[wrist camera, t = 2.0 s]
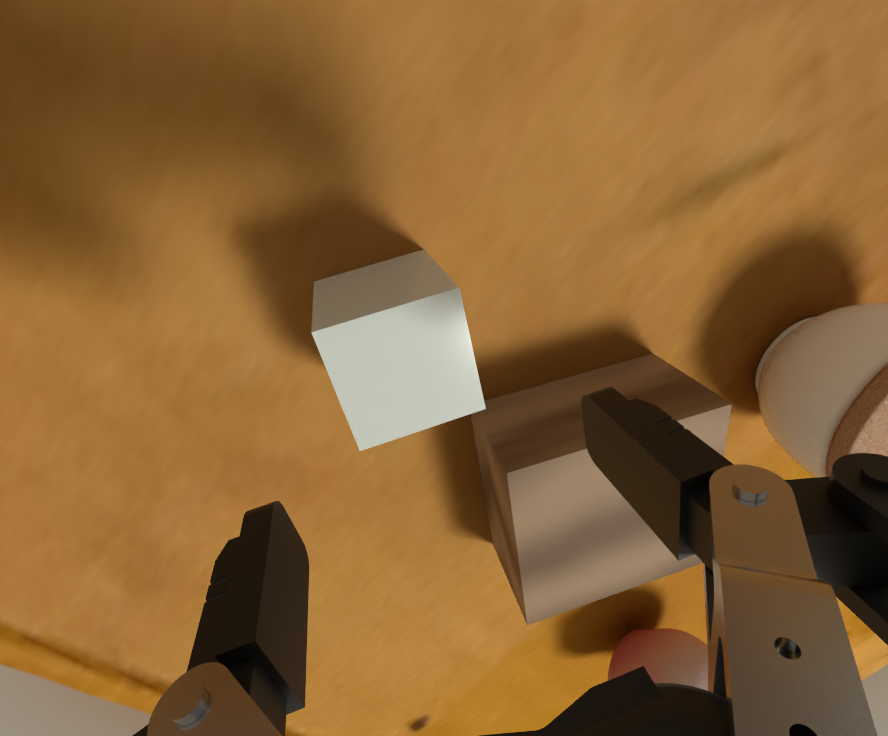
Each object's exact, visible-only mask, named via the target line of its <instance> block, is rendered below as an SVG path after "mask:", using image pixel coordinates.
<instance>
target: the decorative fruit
mask: <svg viewBox="0 0 888 736" xmlns="http://www.w3.org/2000/svg"><path fill="white" fill-rule="evenodd" d="M642 666H644V667H645V669H646V670H647V672H648V674H649V675H650V677H651V679H652V680H653V682H654V683H677V684H683V685H688V686H694V687H697V688H701V689H704V690H707V691H708V645H706V644H705V643H704V642H702V641H701V640H699V639H698V638H696V637H695V636H693V635H691V634H689V633H687V632H684V631H681V630H676V629H644V630H635V629H632V630H631V631H629V632H628V633H627V634H626V635H625V636H624V637H623V638H622V640H621V641H620V642H619V644H618V645H617V647H616V649H615V651H614V653H613V655H612V658H611V662H610V666H609V672H608V681H609V680H611V679H613V678H616V677H618V676H621V675H623V674H625V673H628V672H630V671H632V670H635V669H637V668H640V667H642Z"/></svg>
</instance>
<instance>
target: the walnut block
mask: <svg viewBox="0 0 888 736" xmlns="http://www.w3.org/2000/svg"><path fill="white" fill-rule="evenodd" d="M607 387H612V388H614V389H615V390H617V391H618V392H619V393H620V394H622V395H623V396H624V397H625V398H626V399H628V400H632V399H635V398H638V399H640V400H643V401H646V402H649V403H651V404H654V405H657V406H658V407H659V408H661V409H662V410H663V411H664V412H666V413H667V414H668V415H670V416H671V417H672V419H673V420H674V419H675V420H676V421H677V422H679V423H680V424H681V425H683V426H684V428H685V429H688V430H689V431H691V432H692V433H693V434H694V435H696V436H697V437H698V438H700V439H701V440H702V441H704V442H705V443H706V444H707V445H709V446H710V447H711V448H713V449H714V450H715V451H717V452H718V453H719V454H720V455H722V456H723V455H724V449H725V443H726V437H727V431H728V425H729V419H730V412H731V406H732V404H731V403H729V402H728V401H726V400H725V399H723V398H722V397H720V396H718V395H717V394H715V393H714V392H712V391H711V390H709V389H708V388H706V387H704V386H703V385H701V384H700V383H698V382H697V381H695V380H694V379H692V378H690V377H689V376H687V375H686V374H684V373H683V372H681V371H680V370H678V369H676V368H675V367H673V366H672V365H670V364H669V363H667V362H666V361H664V360H662V359H661V358H659V357H658V356H656V355H655V354H653V353H651V354H648V355H644V356H641V357H637V358H634V359H630V360H627V361H623V362H620V363H616V364H613V365H609V366H605V367H602V368H598V369H595V370H591V371H588V372H584V373H581V374H577V375H574V376H570V377H567V378H563V379H559V380H556V381H552V382H549V383H545V384H542V385H538V386H535V387H531V388H528V389H524V390H521V391H517V392H513V393H510V394H506V395H503V396H499V397H496V398H492V399H489V400H485V401H484V403H485V407H486V409H484V410H481V411H478V412H475V413H472V414H470V415H471V421H472V427H473V432H474V438H475V444H476V450H477V456H478V461H479V467H480V473H481V479H482V485H483V490H484V496H485V502H486V508H487V514H488V519H489V525H490V531H491V537H492V543H493V545H494V548H495V550H496V553H497V555H498V557H499V560H500V562H501V564H502V567H503V569H504V571H505V574H506V576H507V578H508V581H509V583H510V585H511V588H512V590H513V593H514V595H515V597H516V600H517V602H518V604H519V607H520V609H521V611H522V614H523V616H524V618H525V621H526V623H527V625H530V624H532V623H535V622H538V621H541V620H544V619H546V618H549V617H552V616H555V615H558V614H561V613H563V612H566V611H569V610H572V609H575V608H577V607H580V606H583V605H586V604H589V603H592V602H594V601H597V600H600V599H603V598H606V597H608V596H611V595H614V594H617V593H620V592H622V591H625V590H628V589H631V588H634V587H637V586H639V585H642V584H645V583H648V582H651V581H653V580H656V579H659V578H662V577H665V576H668V575H670V574H673V573H676V572H679V571H682V570H684V569H687V568H690V567H693V566H696V565H698V564H701V563H703V562H702V561H701V560H700V559H699V557H698V556H697V555H696V554H695V555H692V556H689V557H687V558H684V559H682V560H679V561H678V560H677V559H676V557H675V556H674V555H673V554H672V553H671V552H670V550H669V549H668V548H667V547H666V546H665V545H664V544H663V542H662V541H661V540H660V539H659V538H658V537H657V535H656V534H655V533H654V532H653V531H652V530H651V528H650V527H649V526H648V525H647V524H646V523H645V522H644V520H643V519H642V518H641V517H640V516H639V515H638V513H637V512H636V511H635V510H634V509H633V508H632V507H631V505H630V504H629V503H628V502H627V501H626V500H625V498H624V497H623V496H622V495H621V494H620V493H619V492H618V490H617V489H616V488H615V487H614V486H613V485H612V483H611V482H610V481H609V480H608V479H607V478H606V476H605V475H604V474H603V473H602V472H601V471H600V470H599V468H598V467H597V466H596V465H595V464H594V462H593V461H592V459H591V457H590V455H589V453H588V450H587V447H586V443H585V435H584V425H583V416H582V406H581V399H582V397H583V396H584V395H587V394H590V393H593V392H596V391H598V390H601V389H604V388H607Z"/></svg>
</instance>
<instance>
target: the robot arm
mask: <svg viewBox="0 0 888 736" xmlns="http://www.w3.org/2000/svg"><path fill="white" fill-rule="evenodd" d="M581 406H582V416H583V425H584V435H585V443H586V447H587V450H588V453H589V455H590V457H591V459H592V461H593V462H594V464H595V465H596V466H597V467H598V468H599V470H600V471H601V472H602V473H603V474H604V475H605V476H606V478H607V479H608V480H609V481H610V482H611V483H612V485H613V486H614V487H615V488H616V489H617V490H618V492H619V493H620V494H621V495H622V496H623V497H624V498H625V500H626V501H627V502H628V503H629V504H630V505H631V507H632V508H633V509H634V510H635V511H636V512H637V513H638V515H639V516H640V517H641V518H642V519H643V520H644V522H645V523H646V524H647V525H648V526H649V527H650V528H651V530H652V531H653V532H654V533H655V534H656V535H657V537H658V538H659V539H660V540H661V541H662V542H663V544H664V545H665V546H666V547H667V548H668V549H669V550H670V552H671V553H672V554H673V555H674V556H675V557H676V559H677V560H678V561H679V560H682V559H684V558H687V557H689V556H692V555H695V554H696V555H697V556H698V557H699V559H700V560H701V561H702V562H703V563H704V571H703V573H704V591H705V608H706V626H707V644H708V691H707V690H704V689H701V688H697V687H694V686H688V685H683V684H677V683H654V682H653V680H652V679H651V677H650V675H649V674H648V672H647V670H646V669H645V667H644V666H642V667H640V668H637V669H635V670H632V671H630V672H628V673H625V674H623V675H621V676H618V677H616V678H613V679H611V680H609V681H606V682H604V683H602V684H599V685H597V686H594V687H592V688H590V689H589V690H588V691H587V692H586V693H584V694H583V695H582V696H581V697H580V698H579V699H577V700H576V701H575V702H574V703H573V704H572V705H570V706H569V707H568V708H567V709H566V710H565V711H563V712H562V713H561V714H560V715H559V716H558V717H556V718H555V719H554V720H553V721H552V722H551V723H549V724H548V725H547V726H546V727H544V728H542V729H540V730H536V731H526V732H514V733H503V734H492V735H481V736H877V733H876V729H875V726H874V723H873V719H872V716H871V712H870V709H869V706H868V702H867V699H866V696H865V692H864V689H863V686H862V682H861V679H860V676H859V672H858V669H857V666H856V662H855V659H854V656H853V652H852V649H851V646H850V642H849V639H848V636H847V632H846V629H845V625H844V622H843V619H842V615H841V612H840V609H839V605H838V602H837V599H836V597H837V598H838V599H839V600H840V601H842V602H843V603H844V604H845V605H846V606H847V607H848V608H849V609H850V610H851V611H852V612H853V613H854V614H855V615H856V616H857V617H858V618H860V619H861V620H862V621H863V622H864V623H865V624H866V625H867V626H868V627H869V628H870V629H871V630H872V631H873V632H874V633H875V634H877V635H878V636H879V637H880V638H881V639H882V640H883V641H884V642H885V643H886V644H887V645H888V456H884V455H879V454H872V453H854V454H848V455H845V456H842V457H840V458H839V459H837V460H836V461H835V462H834V464H833V467H832V471H831V475H830V477H818V478H807V479H795V480H784V479H782V478H781V477H780V476H778V475H777V474H775V473H773V472H771V471H769V470H766V469H763V468H760V467H756V466H751V465H734V464H732V463H731V462H730V461H728V460H727V459H726V458H724V457H723V456H722V455H720V454H719V453H718V452H717V451H715V450H714V449H713V448H711V447H710V446H709V445H707V444H706V443H705V442H704V441H702V440H701V439H700V438H698V437H697V436H696V435H694V434H693V433H692V432H691V431H689V430H688V429H685V428H684V426H683V425H681V424H680V423H679V422H677V421H676V420H675V419H674V420H673V419H672V417H671V416H670V415H668V414H667V413H666V412H664V411H663V410H662V409H661V408H659V407H658V406H657V405H654V404H651V403H649V402H646V401H643V400H640V399H638V398H635V399H632V400H628V399H626V398H625V397H624V396H623V395H622V394H620V393H619V392H618V391H617V390H615V389H614V388H612V387H607V388H604V389H601V390H598V391H596V392H593V393H590V394H587V395H584V396H583V397H582V399H581ZM210 582H211V585H209V588H208V592H207V595H206V603H204V607H203V611H202V615H201V619H200V622H199V626H198V630H197V634H196V638H195V642H194V646H193V649H192V653H191V657H190V661H189V665H188V669H187V672H186V673H184V674H183V675H182V676H180V677H179V678H178V679H177V680H176V681H175V682H174V683H173V684H172V685H171V686H170V687H169V688H168V689H167V690H166V692H165V693H164V694H163V695H162V697H161V698H160V700H159V701H158V703H157V705H156V707H155V709H154V710H153V713H152V715H151V718H150V721H149V724H148V725H147V726H145V727H144V728H143V729H141V730H140V731H139V732H137V733H136V734H134V735H133V736H285V725H286V715H287V714H289V713H292V712H294V711H297V710H299V709H302V708H304V707H305V684H306V652H307V620H308V588H309V561H308V555H307V551H306V548H305V545H304V543H303V541H302V539H301V537H300V536H299V534H298V532H297V530H296V528H295V527H294V525H293V523H292V521H291V519H290V518H289V516H288V514H287V512H286V510H285V509H284V507H283V505H282V504H281V503H280V502H279V501H275V502H272V503H269V504H266V505H264V506H261V507H258V508H255V509H252V510H249V511H247V512H246V513H245V515H244V518H243V523H242V527H241V532H240V537H237V538H234V539H231V540H229V541H228V542H227V544H226V545H225V547H224V548H223V550H222V552H221V553H220V555H219V556H218V558H217V559H216V561H215V565H214V568H213V572H212V576H211V580H210Z"/></svg>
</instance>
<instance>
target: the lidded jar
mask: <svg viewBox="0 0 888 736" xmlns="http://www.w3.org/2000/svg"><path fill="white" fill-rule="evenodd" d="M755 388H756V391H757V393H758V398H759V407H760V411H761V415H762V418H763V420H764V423H765V425H766V427H767V429H768V430H769V432H770V433H771V435H772V436H773V438H774V440H775V441H776V442H777V443H778V444H779V445H780V446H781V447H782V448H783V449H784V451H785V452H786V453H787V454H788V455H789V456H790V457H791V458H792V459H794V460H795V461H796V462H797V463H798V464H799V465H800V466H802V467H803V468H804V469H805V470H806V471H808V472H809V473H810V474H812V475H813V476H815V477H816V478H818V477H830V475H831V471H832V467H833V464H834V462H835V461H836V460H837V459H839V458H840V457H842V456H845V455H848V454H854V453H872V454H879V455H884V456H888V303H863V304H857V305H852V306H847V307H842V308H838V309H835V310H832V311H829V312H826V313H823V314H821V315H819V316H814V317H809V318H806V319H803V320H800V321H798V322H796V323H794V324H793V325H791V326H790V327H788V328H787V329H785V330H784V331H783V332H782V333H781V334H779V335H778V336H777V337H776V338H775V339H774V341H773V342H772V343H771V344H770V345H769V347H768V348H767V349H766V351H765V352H764V354H763V356H762V358H761V360H760V362H759V364H758V367H757V370H756V374H755Z"/></svg>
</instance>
